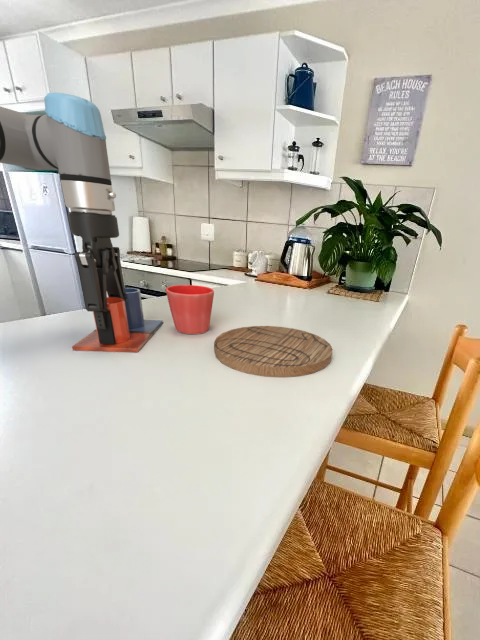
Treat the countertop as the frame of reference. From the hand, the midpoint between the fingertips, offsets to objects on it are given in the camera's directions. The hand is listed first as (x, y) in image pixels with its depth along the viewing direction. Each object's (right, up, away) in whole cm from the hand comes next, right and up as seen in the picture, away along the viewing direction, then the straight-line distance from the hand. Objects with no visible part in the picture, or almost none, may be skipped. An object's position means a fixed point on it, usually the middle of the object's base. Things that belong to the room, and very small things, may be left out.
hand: (114, 337), depth 67 cm
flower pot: (+13, +4, +12) cm, 18 cm away
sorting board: (-1, +1, +5) cm, 5 cm away
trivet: (+33, -3, +3) cm, 33 cm away
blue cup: (-1, +4, +9) cm, 10 cm away
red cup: (0, 0, 0) cm, 0 cm away
